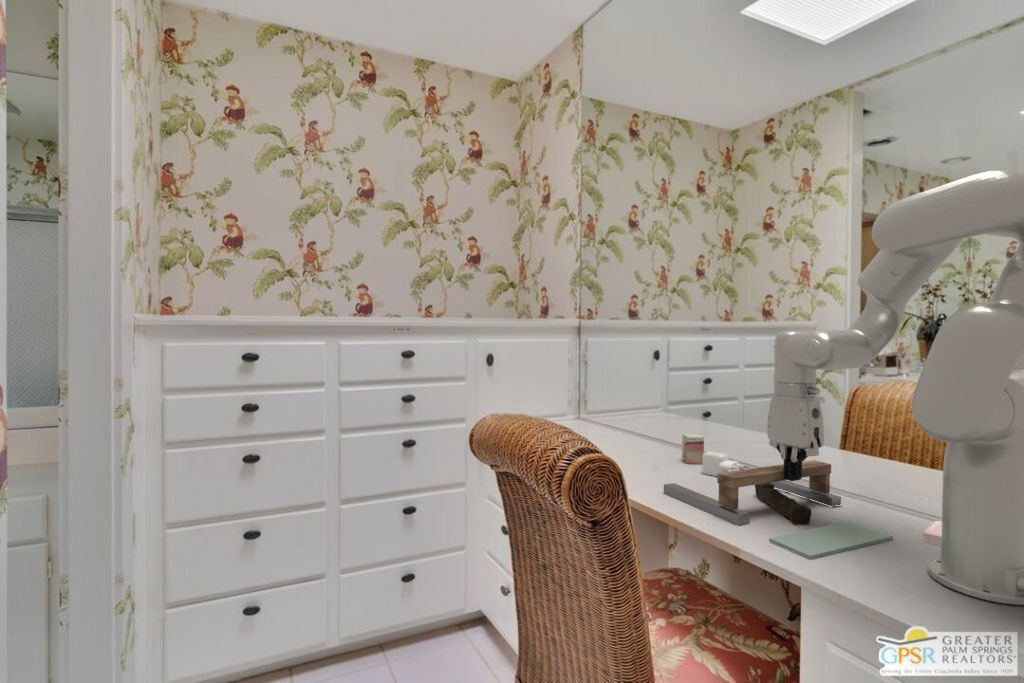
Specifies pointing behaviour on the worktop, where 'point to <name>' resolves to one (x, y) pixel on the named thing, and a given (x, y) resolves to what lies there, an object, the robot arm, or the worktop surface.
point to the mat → (830, 539)
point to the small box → (692, 448)
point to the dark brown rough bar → (783, 503)
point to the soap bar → (933, 533)
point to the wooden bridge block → (769, 479)
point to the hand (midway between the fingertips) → (792, 479)
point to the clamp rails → (739, 515)
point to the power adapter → (718, 463)
